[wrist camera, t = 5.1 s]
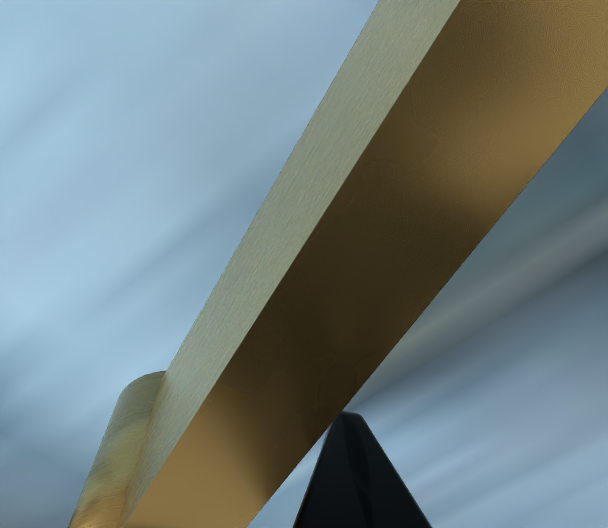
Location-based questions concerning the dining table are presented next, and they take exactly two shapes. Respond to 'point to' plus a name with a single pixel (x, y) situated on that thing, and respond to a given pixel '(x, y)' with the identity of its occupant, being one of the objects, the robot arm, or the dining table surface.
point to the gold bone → (348, 250)
